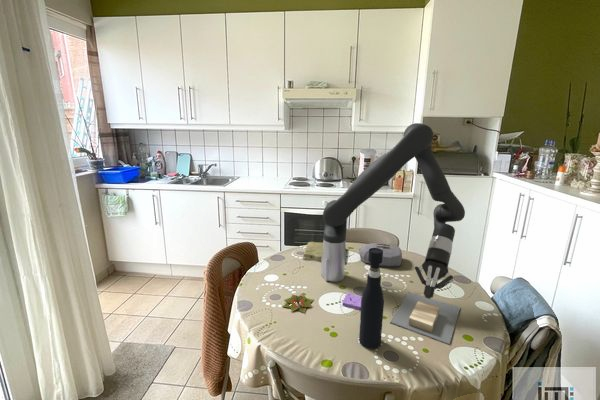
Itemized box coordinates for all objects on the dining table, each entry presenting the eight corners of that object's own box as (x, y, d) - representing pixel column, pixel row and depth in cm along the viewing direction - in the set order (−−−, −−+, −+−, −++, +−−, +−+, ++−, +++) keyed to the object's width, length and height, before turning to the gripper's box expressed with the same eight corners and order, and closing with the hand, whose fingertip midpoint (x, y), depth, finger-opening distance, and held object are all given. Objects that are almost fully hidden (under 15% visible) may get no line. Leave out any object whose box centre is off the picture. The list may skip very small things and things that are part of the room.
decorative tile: (308, 246, 162) (308, 240, 161) (345, 249, 158) (346, 243, 157) (301, 262, 145) (301, 255, 144) (343, 265, 141) (343, 258, 140)
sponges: (346, 296, 116) (346, 292, 115) (379, 304, 111) (380, 299, 111) (341, 306, 110) (342, 302, 109) (377, 315, 105) (377, 310, 104)
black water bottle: (356, 335, 94) (361, 246, 87) (376, 334, 95) (383, 245, 87) (362, 350, 88) (368, 255, 80) (383, 348, 89) (391, 254, 81)
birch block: (418, 300, 107) (409, 317, 97) (439, 306, 103) (432, 325, 94) (417, 307, 108) (408, 325, 98) (438, 313, 104) (431, 333, 94)
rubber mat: (408, 292, 117) (408, 291, 117) (460, 308, 108) (460, 307, 107) (389, 322, 100) (390, 321, 100) (449, 344, 90) (449, 343, 90)
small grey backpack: (400, 256, 149) (359, 252, 154) (402, 241, 147) (360, 237, 152) (402, 270, 135) (356, 265, 140) (403, 253, 133) (357, 248, 138)
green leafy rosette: (290, 293, 118) (290, 282, 117) (319, 300, 114) (319, 289, 112) (276, 309, 108) (275, 298, 107) (306, 318, 103) (306, 306, 102)
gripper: (418, 242, 109) (406, 288, 102) (459, 251, 101) (448, 301, 95) (420, 251, 114) (409, 295, 107) (459, 260, 107) (449, 307, 100)
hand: (427, 297), depth 101 cm, fingers closed
